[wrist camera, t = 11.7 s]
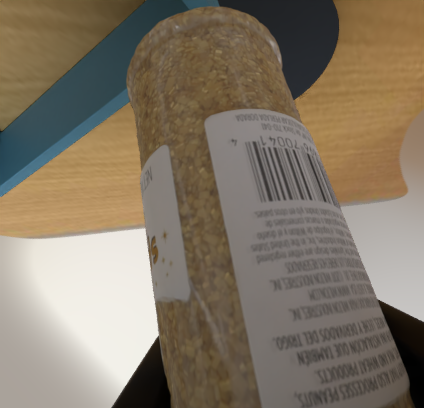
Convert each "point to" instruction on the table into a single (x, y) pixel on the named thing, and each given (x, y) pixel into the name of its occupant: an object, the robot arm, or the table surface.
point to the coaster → (297, 35)
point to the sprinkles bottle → (248, 231)
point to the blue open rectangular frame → (81, 95)
